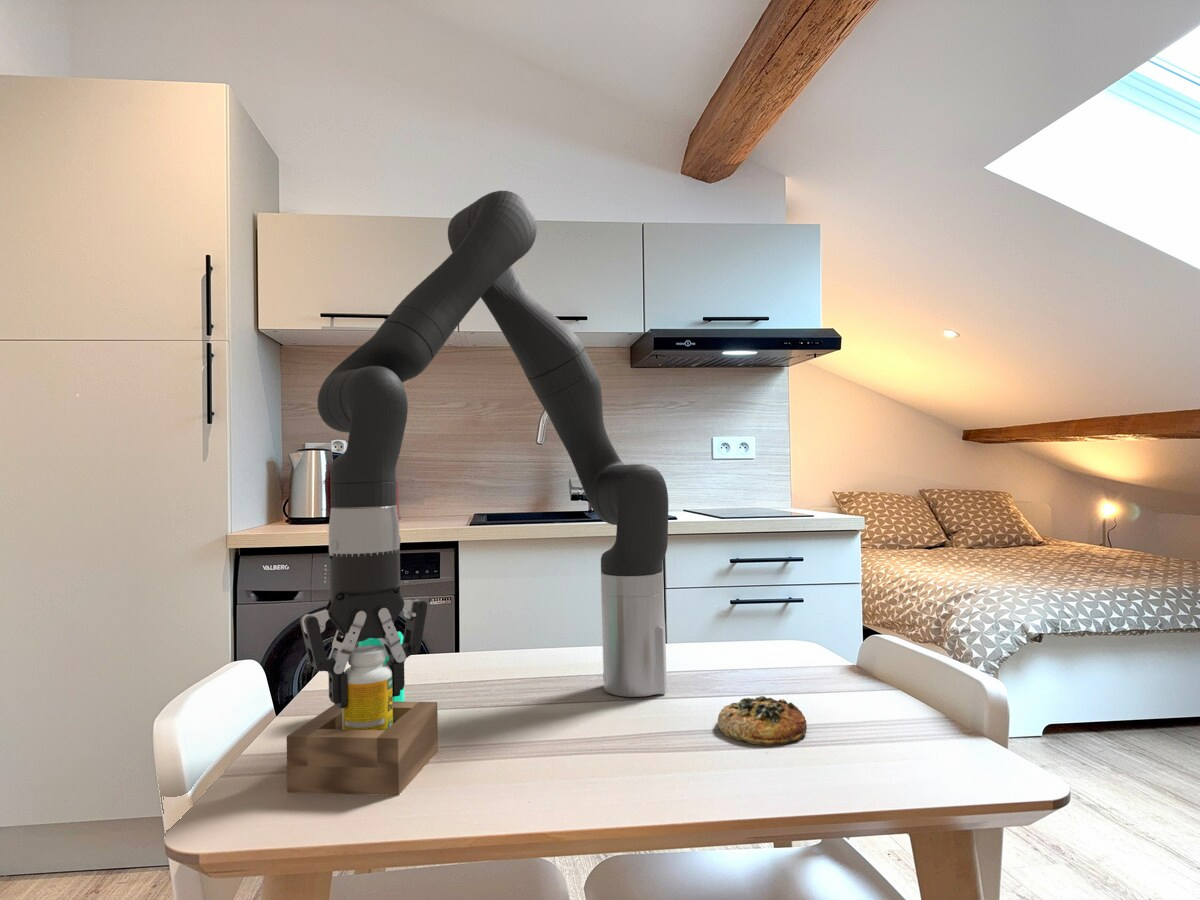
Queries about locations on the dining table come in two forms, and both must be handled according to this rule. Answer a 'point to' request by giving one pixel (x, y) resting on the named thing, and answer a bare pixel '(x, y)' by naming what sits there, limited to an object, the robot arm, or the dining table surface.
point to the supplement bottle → (368, 690)
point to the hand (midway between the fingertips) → (367, 700)
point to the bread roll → (762, 721)
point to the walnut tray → (362, 752)
